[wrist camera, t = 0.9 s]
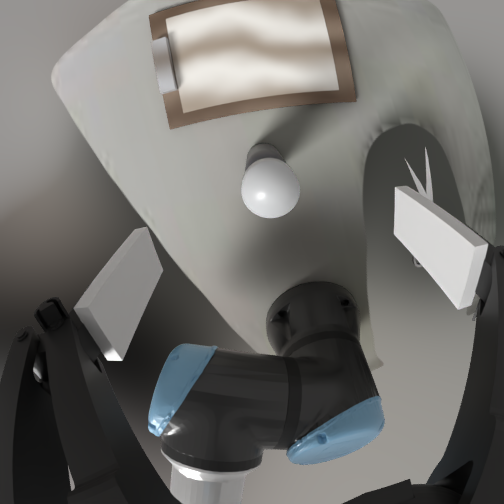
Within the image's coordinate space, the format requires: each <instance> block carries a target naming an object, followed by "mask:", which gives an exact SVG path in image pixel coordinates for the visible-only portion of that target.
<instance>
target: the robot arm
mask: <svg viewBox="0 0 504 504" xmlns="http://www.w3.org/2000/svg"><path fill="white" fill-rule="evenodd" d="M394 219H395V220H394V235H395V236H396V237H397V238H398V239H399V240H400V241H401V242H402V243H403V245H404V246H405V247H406V248H407V249H408V250H409V251H410V252H411V253H412V255H413V256H414V257H415V258H416V259H417V260H418V261H419V263H420V264H421V265H422V266H423V267H424V268H425V269H426V271H427V272H428V273H429V274H430V275H431V277H432V278H433V279H434V280H435V281H436V283H437V284H438V285H439V286H440V288H441V289H442V290H443V291H444V293H445V294H446V295H447V296H448V297H449V299H450V300H451V301H452V303H453V304H454V305H455V307H456V308H457V309H458V310H459V309H462V308H465V307H467V306H470V305H471V304H472V301H473V298H474V295H475V292H476V294H477V295H478V296H479V297H480V300H479V303H478V306H477V308H476V311H475V314H474V316H473V319H472V320H473V321H474V320H475V318H476V317H477V318H476V328H475V337H474V344H473V351H472V357H471V363H470V368H469V373H468V378H467V382H466V387H465V391H464V395H463V399H462V403H461V406H460V410H459V413H458V416H457V420H456V423H455V426H454V429H453V432H452V435H451V438H450V440H449V443H448V446H447V448H446V451H445V453H444V456H443V458H442V459H441V461H440V462H439V463H438V465H437V466H436V468H435V469H434V471H433V473H432V474H431V476H430V477H429V479H428V481H427V483H426V484H413V485H411V482H410V479H408V480H405V481H403V482H399V483H397V484H394V485H391V486H387V487H384V488H381V489H378V490H374V491H371V492H367V493H364V494H362V495H360V496H358V497H356V498H354V499H352V500H349V501H347V502H345V503H343V504H504V246H497V247H494V246H493V245H491V244H490V243H489V242H488V241H487V240H485V239H484V238H483V237H482V236H480V235H478V233H476V232H475V231H473V229H471V228H470V227H469V226H467V225H466V224H464V223H461V222H460V221H459V220H457V219H456V218H455V217H453V216H452V215H450V214H449V213H448V212H446V211H445V210H443V209H442V208H441V207H439V206H438V205H436V204H435V203H433V202H432V201H430V200H429V199H427V198H426V197H424V196H422V195H421V194H419V193H418V192H416V191H415V190H413V189H411V188H410V187H408V186H399V187H395V217H394ZM162 272H163V269H162V266H161V264H160V261H159V259H158V256H157V253H156V251H155V248H154V245H153V242H152V239H151V237H150V234H149V231H148V228H147V227H144V228H139V229H135V230H134V231H133V232H132V233H131V235H130V236H129V237H128V238H127V239H126V241H125V242H124V243H123V244H122V245H121V247H120V248H119V249H118V250H117V251H116V253H115V254H114V255H113V256H112V258H111V259H110V260H109V261H108V263H107V264H106V265H105V267H104V268H103V269H102V270H101V271H100V273H99V274H98V276H97V277H96V278H95V280H94V281H93V282H92V283H91V284H90V285H89V286H88V288H87V289H86V290H85V293H83V294H82V296H81V297H80V299H79V300H78V301H77V303H76V304H75V306H74V307H73V308H72V310H71V311H70V313H69V314H68V313H67V311H66V310H65V308H64V306H63V305H62V303H61V301H60V299H59V298H58V297H53V298H50V299H48V300H46V301H44V302H43V303H42V304H40V305H39V307H38V308H37V309H36V310H35V312H34V316H35V318H36V319H37V321H38V323H39V324H40V326H41V327H42V328H43V330H44V333H41V334H37V333H36V331H35V330H34V329H33V327H32V326H27V327H24V328H22V329H20V330H19V331H18V332H17V334H16V335H15V337H14V339H13V341H12V344H11V347H10V350H9V353H8V357H7V360H6V364H5V367H4V371H3V375H2V378H1V382H0V504H241V501H242V495H243V489H244V483H245V476H246V474H248V473H250V472H252V471H254V470H256V469H257V468H258V467H259V466H260V464H261V461H262V454H263V451H264V449H283V450H287V457H288V458H289V460H290V461H291V462H292V463H294V464H300V465H308V464H316V463H321V462H326V461H330V460H333V459H336V458H339V457H342V456H345V455H347V454H349V453H352V452H354V451H356V450H358V449H360V448H362V447H363V446H365V445H367V444H368V443H370V442H371V441H372V440H374V439H375V438H376V437H377V436H378V435H379V434H380V432H381V431H382V429H383V427H384V420H385V419H384V415H383V410H382V406H381V398H380V396H379V393H378V391H377V388H376V385H375V383H374V379H373V377H372V374H371V371H370V369H369V366H368V363H367V361H366V358H365V355H364V353H363V350H362V348H361V345H360V342H359V340H360V313H359V309H358V306H357V304H356V302H355V300H354V298H353V296H352V295H351V294H350V293H349V292H348V291H347V290H346V289H344V288H343V287H341V286H339V285H336V284H333V283H328V282H312V283H307V284H303V285H299V286H297V287H294V288H292V289H290V290H288V291H287V292H285V293H284V294H282V295H281V296H280V297H279V298H278V299H277V300H276V301H275V302H274V303H273V304H272V306H271V307H270V309H269V311H268V314H267V318H266V329H267V336H268V340H269V342H270V344H271V346H272V348H273V349H274V351H275V353H276V355H277V356H275V355H266V354H258V353H249V352H242V351H236V350H230V349H223V348H217V346H212V347H209V346H201V345H193V344H182V345H179V346H177V347H176V348H175V349H174V350H173V351H172V352H171V353H170V355H169V357H168V358H167V360H166V362H165V364H164V367H163V369H162V371H161V374H160V377H159V379H158V382H157V385H156V388H155V391H154V395H153V398H152V403H151V406H150V411H149V424H148V429H149V431H150V432H151V433H154V434H155V435H156V436H162V441H161V451H162V453H163V455H164V456H165V457H166V458H167V459H168V460H169V461H170V462H171V463H172V476H171V487H170V491H169V489H168V488H167V486H166V485H165V484H164V482H163V481H162V479H161V478H160V476H159V475H158V473H157V472H156V470H155V468H154V467H153V465H152V464H151V462H150V460H149V459H148V457H147V456H146V454H145V452H144V451H143V449H142V447H141V445H140V443H139V442H138V440H137V438H136V436H135V434H134V433H133V431H132V429H131V427H130V425H129V423H128V421H127V419H126V417H125V415H124V413H123V411H122V409H121V407H120V405H119V403H118V400H117V398H116V396H115V394H114V392H113V389H112V387H111V385H110V383H109V380H108V378H107V375H106V373H105V370H104V367H103V365H102V363H101V361H100V360H99V359H98V355H99V353H100V351H101V352H102V353H103V354H104V356H105V357H106V358H107V360H112V361H123V358H124V356H125V354H126V351H127V349H128V346H129V344H130V341H131V339H132V337H133V335H134V332H135V330H136V328H137V325H138V323H139V321H140V319H141V316H142V314H143V312H144V310H145V308H146V305H147V303H148V301H149V299H150V297H151V295H152V292H153V290H154V288H155V286H156V284H157V282H158V280H159V278H160V276H161V274H162ZM33 371H34V372H35V373H36V375H37V376H38V377H39V378H40V379H39V382H37V381H36V380H35V377H34V374H33ZM68 466H69V469H70V472H71V475H72V478H73V481H74V484H75V489H74V490H73V491H71V486H70V479H69V472H68Z"/></svg>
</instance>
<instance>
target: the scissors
mask: <svg viewBox="0 0 504 504" xmlns="http://www.w3.org/2000/svg"><path fill="white" fill-rule="evenodd" d="M406 163H407V162H406ZM407 165H408V167H409V170H410V172H411V174H412V177H413V179H414V181H415V184H416V186H417V189H418V191H419V194H421V195H422V196H424V197H426V198H427V199H429V200H430V201H432V202H433V194H432V184H431V175H430V168H429V162H428V156H427V151H426V178H427V188H426V191H427V194H426V192H425V190H424V188H423V187H422V185H421V183H420V182H419V180H418V178H417V177H416V175H415V173H414V172H413V170H412V169H411V167H410V166H409V164H408V163H407ZM412 261H413V263H414V265H415V266H416V267H419V268H420V267H422V265H421V264H420V263H416V258H415V257H414V256H413V257H412Z"/></svg>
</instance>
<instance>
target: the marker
mask: <svg viewBox="0 0 504 504" xmlns="http://www.w3.org/2000/svg"><path fill="white" fill-rule="evenodd" d="M241 192H242V198H243V201H244V203H245V205H246V206H247V207H248V209H249V210H250V211H252V212H253V213H254V214H256V215H258V216H261V217H264V218H277V217H280V216H283V215H285V214H287V213H288V212H289V211H291V210H292V209H293V208H294V206H295V205H296V203H297V201H298V199H299V195H300V185H299V181H298V179H297V177H296V175H295V174H294V172H293V171H292V169H291V168H290V167H289V166H288V165H287V164H286V162H285V161H284V159H283V158H282V156H281V155H280V153H279V152H278V150H277V149H276V148H275V147H274V146H272V145H270V144H267V143H260V144H257V145H255V146H253V147H252V148H251V149H250V151H249V152H248V155H247V161H246V168H245V174H244V177H243V182H242V189H241Z"/></svg>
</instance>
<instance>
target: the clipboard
mask: <svg viewBox="0 0 504 504" xmlns="http://www.w3.org/2000/svg"><path fill="white" fill-rule="evenodd" d="M149 20H150V27H151V33H152V39H153V41H151V47H152V53H153V58H154V64H155V69H156V75H157V80H158V85H159V90H160V94H163V99H164V103H165V108H166V113H167V118H168V122H169V127H170V129H174V128H178V127H182V126H185V125H189V124H193V123H198V122H202V121H206V120H211V119H215V118H220V117H225V116H230V115H235V114H241V113H247V112H253V111H259V110H266V109H273V108H280V107H288V106H298V105H308V104H320V103H337V102H356V95H355V89H354V83H353V77H352V71H351V66H350V60H349V55H348V50H347V46H346V41H345V37H344V33H343V28H342V24H341V20H340V17H339V13H338V9H337V6H336V2H335V0H198V1H194V2H190V3H187V4H183V5H179V6H176V7H173V8H169V9H166V10H163V11H160V12H157V13H154V14H151V15H149Z"/></svg>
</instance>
